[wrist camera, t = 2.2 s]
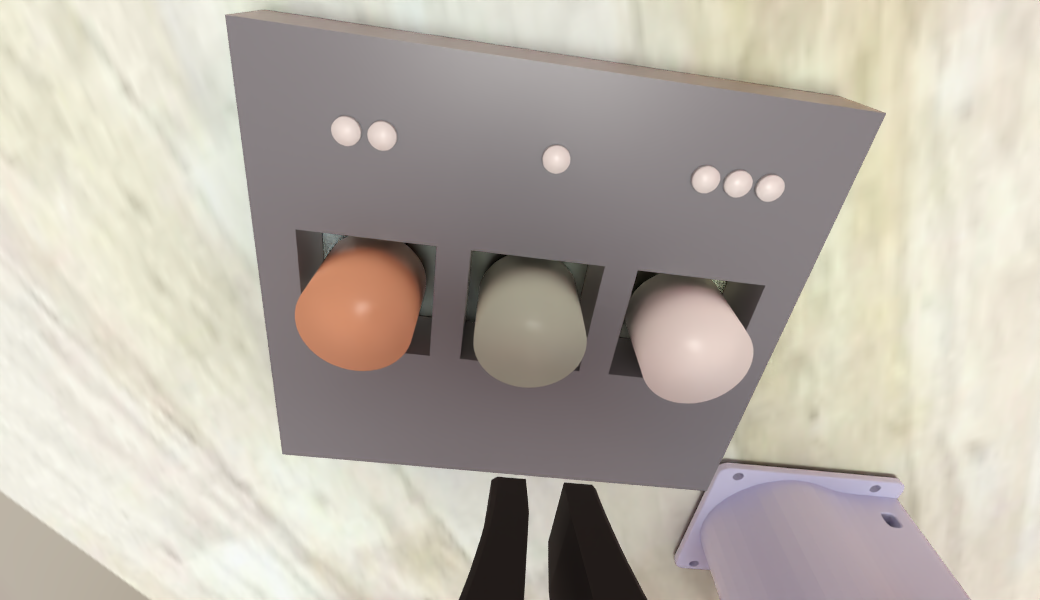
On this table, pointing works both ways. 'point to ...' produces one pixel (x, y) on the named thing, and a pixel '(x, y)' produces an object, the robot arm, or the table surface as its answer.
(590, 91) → the button panel
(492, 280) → the button green
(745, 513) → the robot arm
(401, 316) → the button terracotta
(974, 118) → the table surface
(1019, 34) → the table surface
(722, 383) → the button white
